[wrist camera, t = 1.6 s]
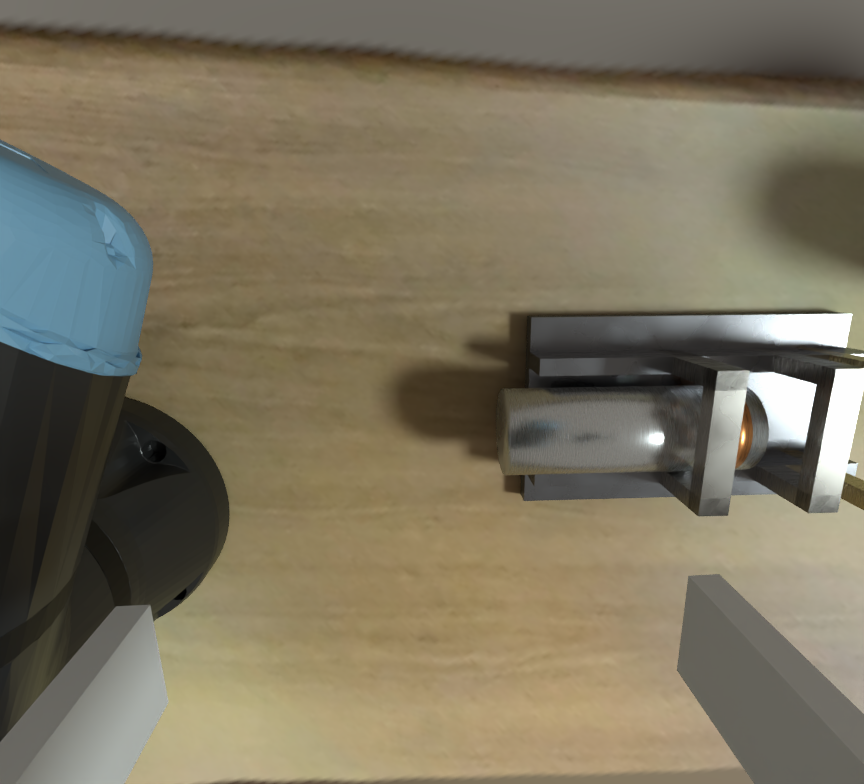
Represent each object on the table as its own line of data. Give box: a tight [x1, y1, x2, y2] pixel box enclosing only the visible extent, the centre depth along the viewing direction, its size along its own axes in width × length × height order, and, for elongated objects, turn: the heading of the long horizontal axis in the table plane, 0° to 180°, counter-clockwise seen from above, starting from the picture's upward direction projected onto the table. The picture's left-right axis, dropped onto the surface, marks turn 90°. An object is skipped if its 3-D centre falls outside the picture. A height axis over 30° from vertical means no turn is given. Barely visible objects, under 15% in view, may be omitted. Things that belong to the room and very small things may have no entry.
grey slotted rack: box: [521, 312, 864, 516], centre depth 28 cm, size 20×12×8 cm, turn 90°
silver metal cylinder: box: [496, 385, 769, 475], centre depth 29 cm, size 14×5×5 cm, turn 90°
